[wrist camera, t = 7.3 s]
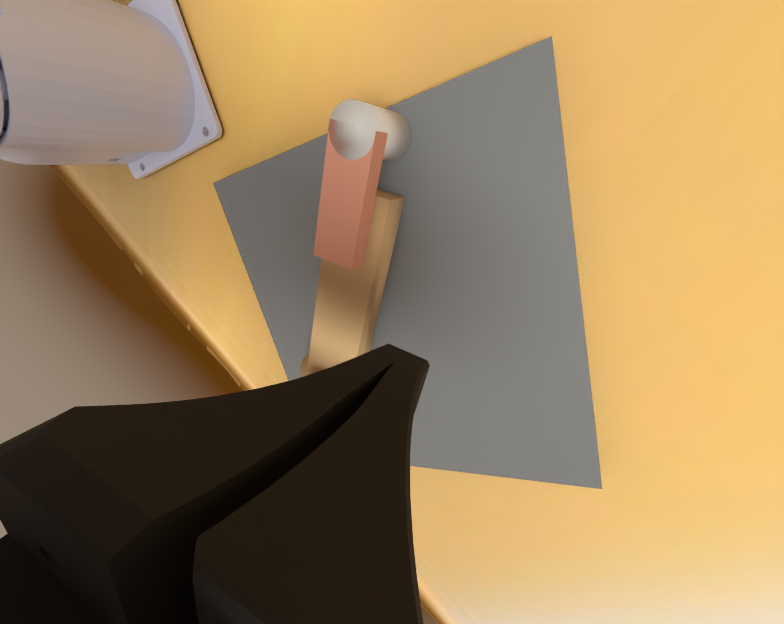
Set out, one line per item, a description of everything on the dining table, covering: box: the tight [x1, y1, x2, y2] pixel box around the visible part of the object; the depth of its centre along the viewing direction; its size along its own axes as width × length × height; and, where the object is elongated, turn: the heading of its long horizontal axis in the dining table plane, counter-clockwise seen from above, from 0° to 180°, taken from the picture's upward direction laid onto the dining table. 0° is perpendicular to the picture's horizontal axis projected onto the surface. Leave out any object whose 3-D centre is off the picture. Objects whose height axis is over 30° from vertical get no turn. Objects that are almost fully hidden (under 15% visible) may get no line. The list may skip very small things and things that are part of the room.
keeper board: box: [213, 36, 602, 489], centre depth 19 cm, size 19×20×5 cm
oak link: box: [300, 188, 405, 377], centre depth 18 cm, size 13×4×3 cm, turn 167°
